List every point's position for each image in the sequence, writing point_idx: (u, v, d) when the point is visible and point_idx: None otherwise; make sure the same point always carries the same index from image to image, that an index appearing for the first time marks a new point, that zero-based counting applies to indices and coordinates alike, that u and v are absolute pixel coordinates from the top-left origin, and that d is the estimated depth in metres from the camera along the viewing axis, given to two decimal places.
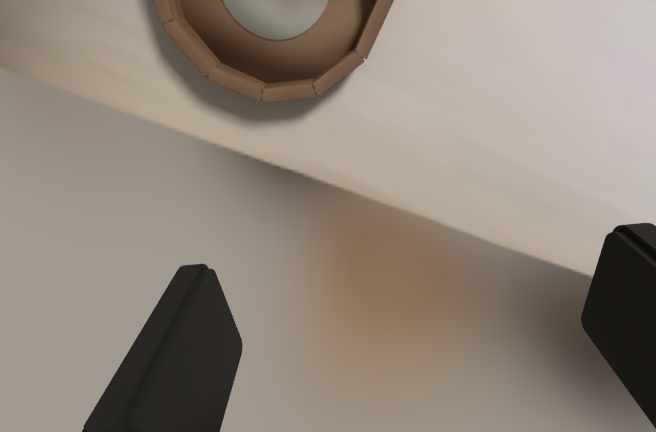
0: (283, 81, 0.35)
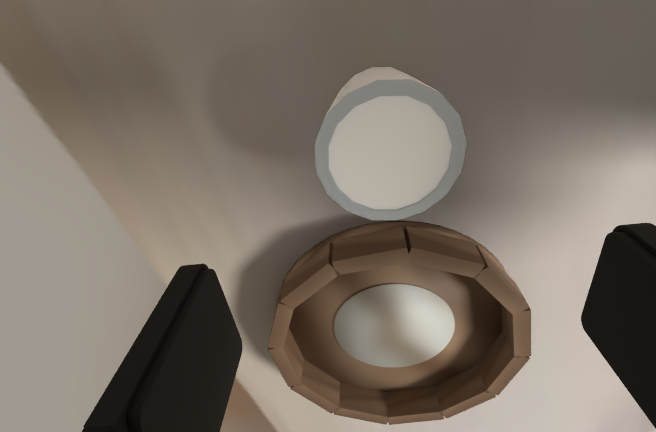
0: (317, 368, 0.34)
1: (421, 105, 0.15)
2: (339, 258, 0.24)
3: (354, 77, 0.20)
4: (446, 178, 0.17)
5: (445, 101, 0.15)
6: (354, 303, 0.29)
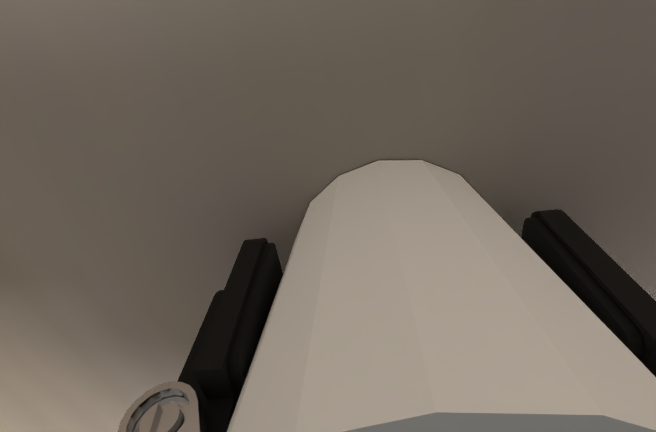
0: None
1: None
2: None
3: (338, 199, 0.08)
4: None
5: None
6: None
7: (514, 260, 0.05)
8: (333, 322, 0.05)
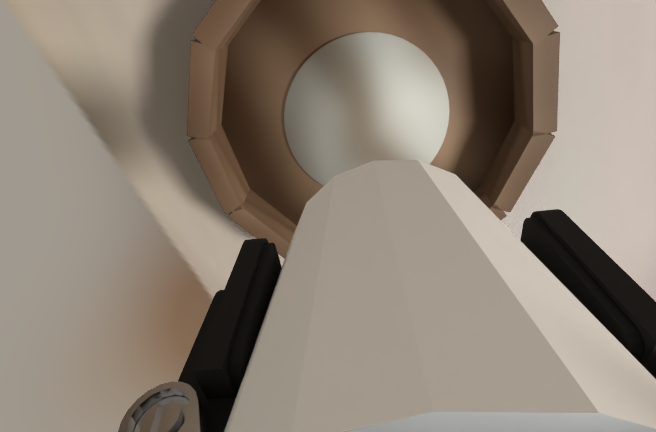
0: (269, 204, 0.25)
1: None
2: None
3: (334, 199, 0.08)
4: None
5: None
6: (309, 74, 0.21)
7: (510, 259, 0.05)
8: (329, 323, 0.05)
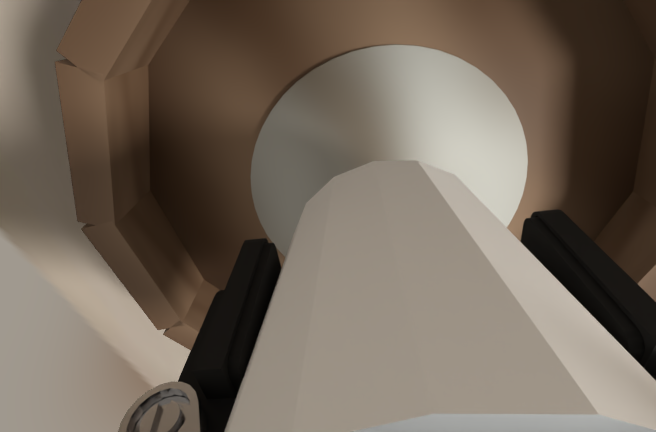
0: None
1: None
2: None
3: (334, 200, 0.08)
4: None
5: None
6: (290, 116, 0.12)
7: (509, 260, 0.05)
8: (329, 324, 0.04)
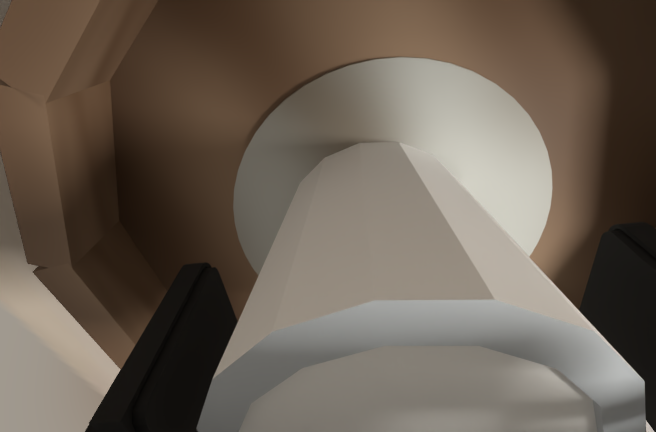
0: None
1: (523, 362, 0.05)
2: None
3: (322, 175, 0.09)
4: None
5: (606, 353, 0.04)
6: (277, 139, 0.10)
7: (461, 213, 0.06)
8: (308, 259, 0.06)
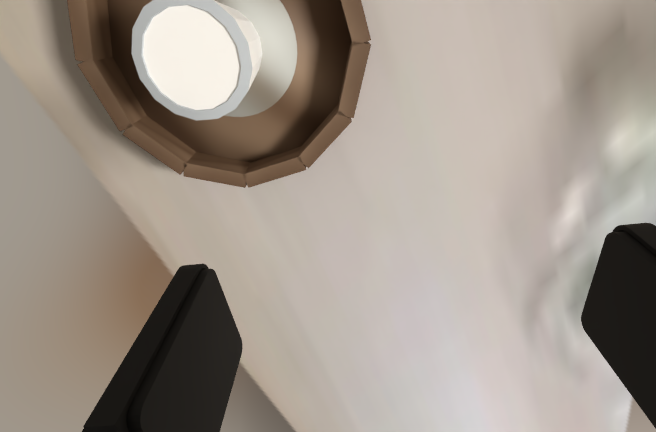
0: (164, 129, 0.30)
1: (202, 12, 0.19)
2: None
3: None
4: (242, 76, 0.21)
5: (219, 7, 0.19)
6: None
7: None
8: None
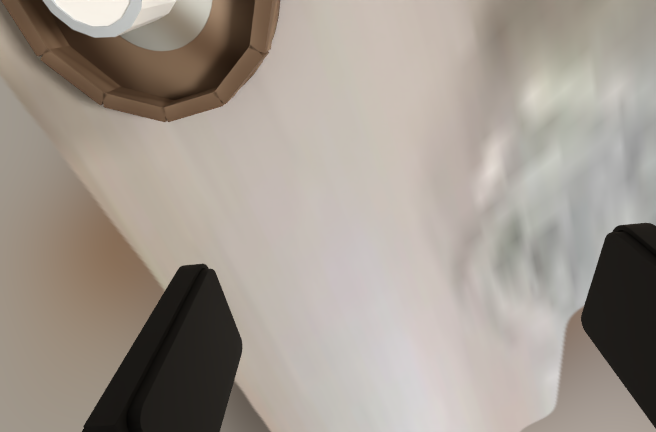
0: (88, 60, 0.30)
1: None
2: None
3: None
4: None
5: None
6: None
7: None
8: None
